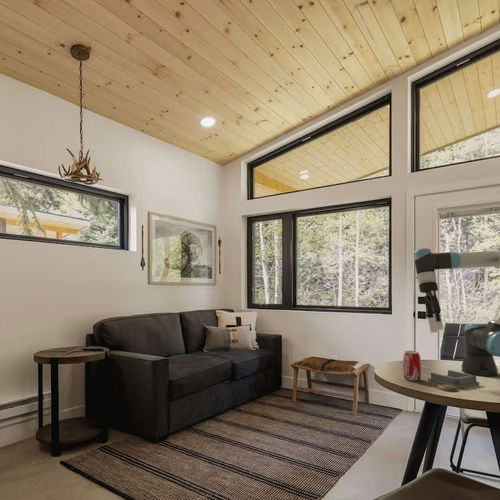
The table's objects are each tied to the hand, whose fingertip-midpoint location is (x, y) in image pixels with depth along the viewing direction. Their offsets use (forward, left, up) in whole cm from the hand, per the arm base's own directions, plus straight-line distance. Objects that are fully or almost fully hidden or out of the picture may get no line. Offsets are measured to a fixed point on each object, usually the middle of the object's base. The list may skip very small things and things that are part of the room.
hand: (436, 331), depth 172 cm
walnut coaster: (+5, +8, -22) cm, 24 cm away
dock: (-6, +3, -22) cm, 23 cm away
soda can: (+5, -9, -22) cm, 24 cm away
